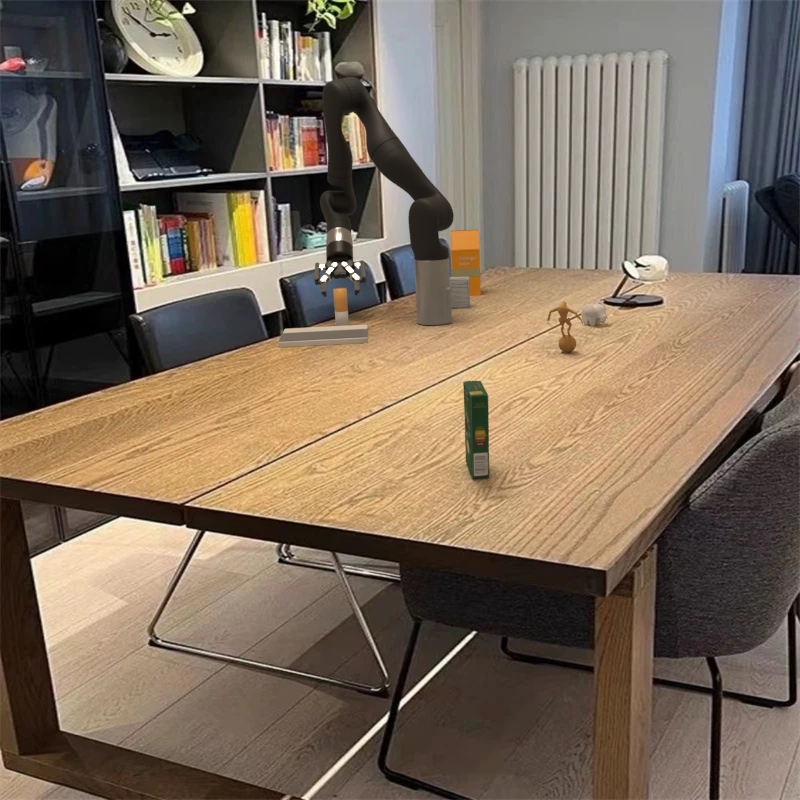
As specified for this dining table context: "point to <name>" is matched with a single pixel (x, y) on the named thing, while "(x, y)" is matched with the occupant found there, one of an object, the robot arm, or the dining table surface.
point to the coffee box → (476, 429)
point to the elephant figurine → (594, 314)
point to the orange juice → (466, 258)
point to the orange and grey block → (341, 306)
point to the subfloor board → (324, 335)
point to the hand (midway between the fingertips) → (340, 294)
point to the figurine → (566, 341)
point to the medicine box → (460, 292)
